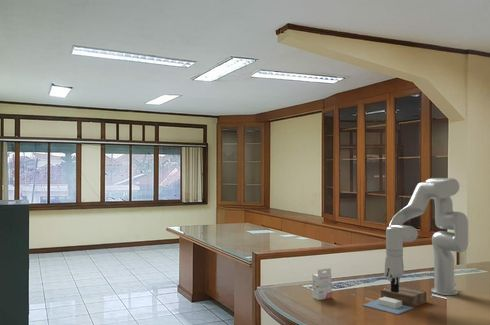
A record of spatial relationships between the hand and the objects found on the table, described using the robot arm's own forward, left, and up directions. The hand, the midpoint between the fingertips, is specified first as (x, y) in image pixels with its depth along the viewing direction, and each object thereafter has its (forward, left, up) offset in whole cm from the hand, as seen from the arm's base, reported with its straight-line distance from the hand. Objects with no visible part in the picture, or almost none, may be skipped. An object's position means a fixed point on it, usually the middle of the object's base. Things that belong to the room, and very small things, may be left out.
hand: (394, 291), depth 208 cm
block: (+5, 0, -3) cm, 5 cm away
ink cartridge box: (+17, -30, -6) cm, 35 cm away
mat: (+7, 0, -6) cm, 9 cm away
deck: (-8, 0, -6) cm, 10 cm away
